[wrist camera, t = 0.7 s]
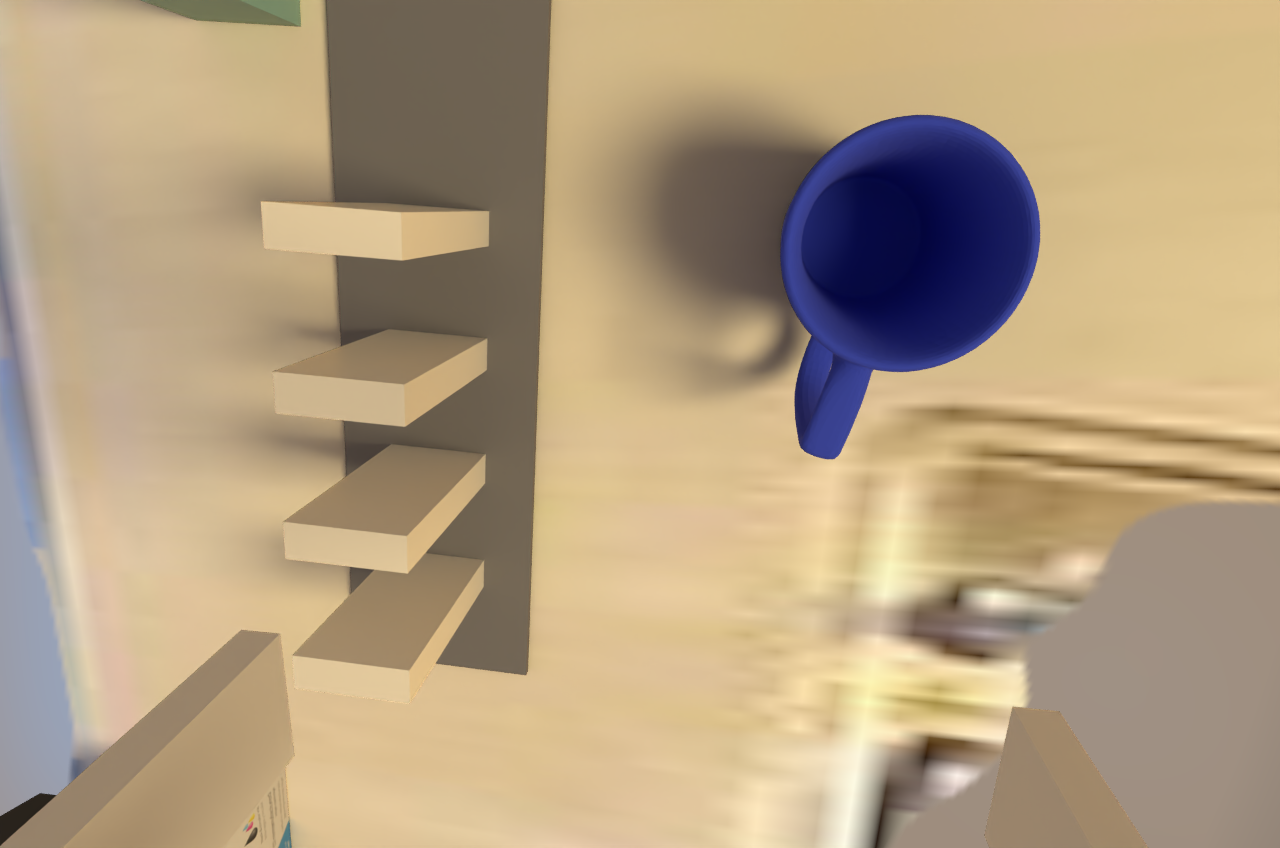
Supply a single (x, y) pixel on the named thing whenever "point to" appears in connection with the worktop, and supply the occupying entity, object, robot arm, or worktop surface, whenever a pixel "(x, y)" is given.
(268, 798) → the ink box
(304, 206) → the domino
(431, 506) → the domino
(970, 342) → the mug
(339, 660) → the domino
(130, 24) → the worktop surface
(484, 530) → the mat
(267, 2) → the green domino
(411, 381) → the domino
